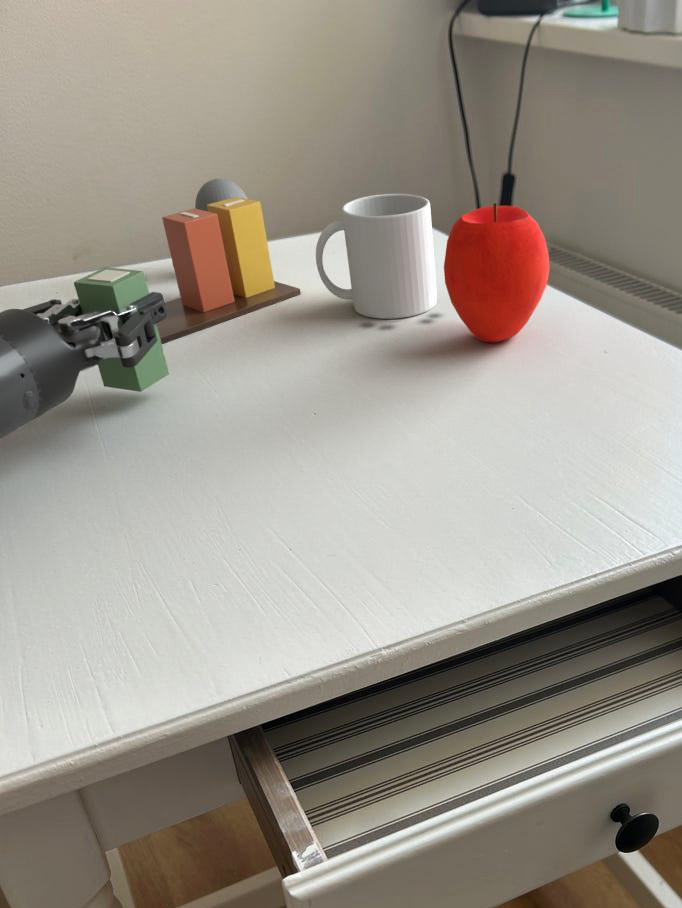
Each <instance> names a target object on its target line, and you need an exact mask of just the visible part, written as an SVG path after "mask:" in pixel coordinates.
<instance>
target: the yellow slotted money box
mask: <svg viewBox="0 0 682 908" xmlns="http://www.w3.org/2000/svg"><path fill="white" fill-rule="evenodd" d="M207 209H208V212H211V213H215V214H217V216H218V222H219V227H220V232H221V237H222V242H223V247H224V252H225V257H226V262H227V267H228V272H229V277H230V282H231V287H232V292H233V294H235V295H238V296H241V297H245V298H248V297H250V296H253V295H256V294H259V293H262V292H265V291H268V290H271V289H273V288H275V285H274V281H275V280H274V274H273V273H274V272H273V268H272V262H271V256H270V250H269V244H268V238H267V233H266V227H265V221H264V215H263V211H262V205H261V201H259V200H254V199H249V198H247V199H246V198H241V197H234V198H230V199H227V200H223V201H219V202H216V203H212V204H208V205H207Z"/></svg>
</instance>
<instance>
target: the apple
mask: <svg viewBox="0 0 682 908" xmlns="http://www.w3.org/2000/svg"><path fill="white" fill-rule="evenodd" d="M547 246H548V245H547V242H546V239H545V235H544V233H543V231H542V230H541V228H540V225H539V224H538V222H537V221H536V220H535V219H534V218H533V217H532V216H531V215H530V214H529V213H528V212H527V211H526V210H524V209H523V208H521V207H518V206H512V205H497V203H496V202H495V203H493V205H491V206H484V207H479V208H476V209H474V210H472V211H469V212H467V213H464V214H463V215H462V216H460V217H459V218H458V219H457V220H456V221H455V222H454V224H453V226H452V228H451V230H450V232H449V235H448V238H447V240H446V248H445V255H444V262H443V274H444V284H445V286H446V290H447V293H448V296H449V300H450V303H451V304H452V306H453V308H454V311H456V313H457V316H458V317H459V319H460V320H461V321H462V322H463V324H464V325H465V327H466V328H467V329H468V330H469V331H470V333H471V334H472V336H474V337H475V338H476V339H478V340H480V341H482V342H484V343H498V342H502V341H506V340H509V339H511V338H513V337H515V336H516V335H517V334H519V332H520V331H521V330H523V328H524V327H525V326H526V325H527V323H528V322H529V321H530V319H531V318H532V316H533V313H534V312H535V310H536V308H537V307H538V305H539V304H540V302H541V300H542V297H543V294H544V292H545V290H546V287H547V285H548V281H549V274H550V273H549V272H550V256H549V251H548V247H547Z"/></svg>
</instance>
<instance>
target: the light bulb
mask: <svg viewBox="0 0 682 908" xmlns="http://www.w3.org/2000/svg"><path fill="white" fill-rule="evenodd" d="M234 197H241V198H246V199H248V197H247V195H246V193H245V192H244V191H243V190H242V189H241V187H240V186H239V185H238V184H236V183H235V182H233V181H232V180H229V179H226V178H214V179H210V180H209V181H206V182H204V183H203V185H202V186H201V187H200V188H199V190H198V193H197V194H196V197H195V204H194V205H195V207H194V208H195V209H199V210H203V211H207V212H208V209H207V205H208V204H212V203H216V202H219V201H223V200H227V199H230V198H234Z"/></svg>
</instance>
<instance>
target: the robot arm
mask: <svg viewBox="0 0 682 908" xmlns="http://www.w3.org/2000/svg"><path fill="white" fill-rule="evenodd" d="M165 302H166V301H165V299H164V295H163V294H162V292H159V291H158V292H157V291H156V292H155V291H151V292H149V294H148V295H146V296H144V297H142V298H140V299H138V300H136V301H135V302H133V303H131V304H129V305H126V306H124V307H122V308H119V309H116V310H113V311H110V310H107V309H104V308H100V309H97V310H95V311H92V312H89V313H86V314H83V313H82V309H81V306H80V303H79V299H78V298H73V299H70V300H68V301H67V302H66V303H65V304H63V302H62V300H61V299H55V298H54V299H50V300H48V301H44V302H40V303H38V304H36V305H31V306H28V307H25V308H23V309H21V308H8V309H5V310H3V311H0V439H2V438H5V437H6V436H8V435H10V434H12V433H14V432H16V431H17V430H18V429H20V428H22V427H23V426H26V425H27V424H28V423H31V422H32V421H34V420H35V419H37V418H39V417H40V416H42V415H43V414H46V413H47V412H48V411H51V410H52V409H53V408H55V407H57V406H59V405H61V404H62V403H64V402H65V401H67V400H68V399H69V398H70V397H71V396H72V394H73V392H74V390H75V388H76V384H77V381H78V377H79V375H80V373H81V372H84V371H86V370H90V369H93V368H94V367H95V366H98V364H100V363H101V362H102V361H103V360H104V359H106V358H118V357H120V360H121V364H122V366H123V367H129V368H130V367H133V366H136V365H137V364H138V363H139V362H140V361H141V360H142V358H143V357H144V356H145V355H146V354H147V353H148V351H149V350H150V349H151V348H152V347H153V345H154V344H155V343H156V342H157V337H156V333H155V329H154V325H155V324H156V323H158V322H160V321H162V320H163V319H165V318H166V316H167V311H166V306H165ZM124 318H125V322H126V323H125V324H124V325H123V326H122V327H121V328H120V329H119V326H118V322H119V321H120V320H122V319H124ZM100 321H101V324H102V327H101V326H100V325H99V324H98V323H97V322H100ZM102 328H103V330H102ZM103 331H104V333H103ZM104 335H105V337H104ZM105 338H106V340H105Z"/></svg>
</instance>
